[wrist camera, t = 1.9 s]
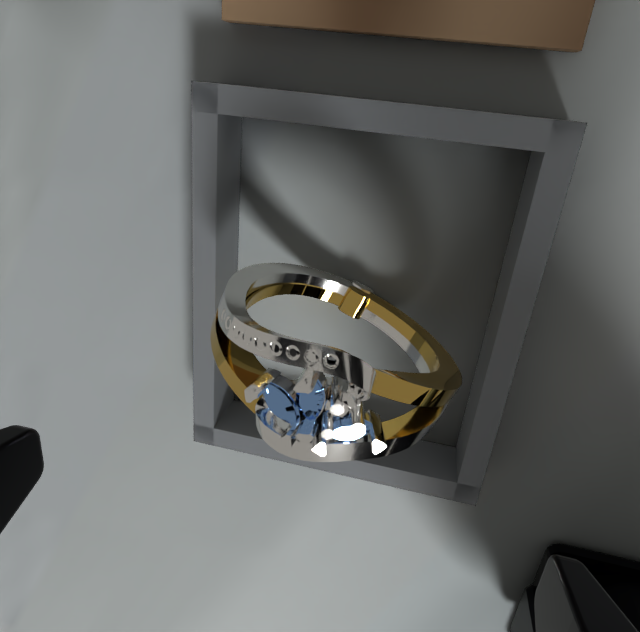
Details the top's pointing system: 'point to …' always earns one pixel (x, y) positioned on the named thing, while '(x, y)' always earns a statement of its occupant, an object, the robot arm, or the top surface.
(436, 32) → the pad
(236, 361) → the ring
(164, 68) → the top surface
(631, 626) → the robot arm
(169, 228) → the top surface
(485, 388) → the bin
